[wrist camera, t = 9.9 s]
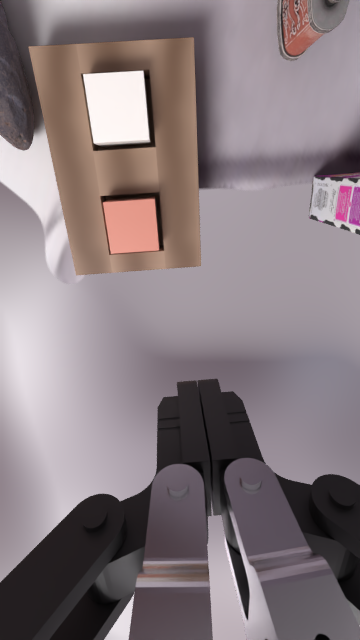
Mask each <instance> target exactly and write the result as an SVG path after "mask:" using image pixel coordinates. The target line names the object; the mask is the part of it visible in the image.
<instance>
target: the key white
mask: <svg viewBox="0 0 360 640" xmlns="http://www.w3.org/2000/svg"><path fill="white" fill-rule="evenodd" d="M83 78H84V84H85V90H86V97H87V103H88V110H89V116H90V123H91V129H92V135H93V142H94V144H97V145H99V146H101V147H104V146H120V145H135V144H151V141H150V130H149V118H148V107H147V95H146V84H145V78H144V72H143V71H129V72H112V73H95V74H83Z"/></svg>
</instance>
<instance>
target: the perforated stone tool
mask: <svg viewBox="0 0 360 640" xmlns="http://www.w3.org/2000/svg"><path fill="white" fill-rule="evenodd" d="M33 134H34V116H33V107H32V101H31V96H30V91H29V87H28V83H27V80H26V76H25V72H24V69H23V66H22V62H21V59H20V56H19V53H18V49H17V46H16V43H15V40H14V38H13V36H12V35H11V33H10V32H9V29H8V23H7V19H6V15H5V12H4V8H3V6H2V3H1V0H0V135H1V136H2V137H3V138H5V139H6V140H7V141H8V142H9V143H10V144H12V145H13V146H14V147H16V148H18V149H21V150H27V149H29V147H30V146H31V144H32V140H33Z"/></svg>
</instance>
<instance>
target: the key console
mask: <svg viewBox="0 0 360 640" xmlns="http://www.w3.org/2000/svg"><path fill="white" fill-rule="evenodd" d="M29 52H30V57H31V62H32V66H33V71H34V76H35V81H36V85H37V90H38V95H39V100H40V105H41V109H42V114H43V119H44V124H45V128H46V133H47V138H48V143H49V148H50V152H51V157H52V162H53V167H54V171H55V176H56V181H57V186H58V190H59V195H60V200H61V205H62V210H63V214H64V219H65V224H66V229H67V233H68V238H69V243H70V248H71V253H72V257H73V262H74V267H75V272H76V275H87V274H99V273H113V272H126V271H127V272H128V271H141V270H154V269H168V268H181V267H196V266H201V251H200V220H199V219H200V218H199V186H198V154H197V122H196V90H195V58H194V37H191V38H173V39H155V40H137V41H119V42H101V43H83V44H65V45H47V46H29ZM129 71H143V72H144V78H145V84H146V95H147V107H148V118H149V130H150V141H151V144H135V145H120V146H104V147H101V146H99V145H97V144H94V142H93V135H92V129H91V123H90V116H89V110H88V103H87V97H86V90H85V84H84V78H83V74H95V73H112V72H129ZM151 196H155V199H156V210H157V222H158V233H159V250H157V251H143V252H129V253H115V254H111V251H110V245H109V239H108V232H107V226H106V219H105V213H104V206H103V202H105V201H107V200H109V199H121V198H136V197H151Z"/></svg>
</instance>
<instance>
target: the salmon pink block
mask: <svg viewBox="0 0 360 640" xmlns="http://www.w3.org/2000/svg"><path fill="white" fill-rule="evenodd" d="M103 206H104V213H105V219H106V226H107V232H108V239H109V245H110V251H111V254H115V253H129V252H143V251H157V250H159V233H158V222H157V210H156V199H155V196H151V197H136V198H121V199H109V200H107V201H105V202H103Z"/></svg>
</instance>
